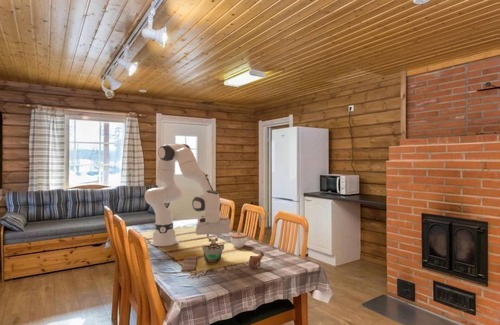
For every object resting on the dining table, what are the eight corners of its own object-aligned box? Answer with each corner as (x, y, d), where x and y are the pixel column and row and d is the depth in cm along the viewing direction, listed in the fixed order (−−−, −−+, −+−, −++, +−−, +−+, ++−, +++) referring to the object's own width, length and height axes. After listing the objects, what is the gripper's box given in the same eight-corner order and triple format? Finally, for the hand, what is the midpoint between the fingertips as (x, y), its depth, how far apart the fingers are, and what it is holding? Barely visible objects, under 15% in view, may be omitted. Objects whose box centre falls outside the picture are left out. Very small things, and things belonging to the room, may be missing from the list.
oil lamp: (262, 265, 168) (262, 250, 168) (265, 267, 165) (265, 252, 165) (247, 267, 165) (247, 252, 165) (250, 270, 161) (250, 255, 161)
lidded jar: (227, 247, 203) (227, 233, 202) (235, 243, 212) (235, 229, 212) (241, 249, 198) (241, 234, 197) (249, 245, 207) (249, 231, 207)
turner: (209, 242, 188) (209, 237, 189) (216, 242, 189) (216, 237, 189) (210, 247, 173) (209, 241, 173) (218, 246, 173) (217, 241, 174)
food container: (202, 266, 168) (203, 251, 165) (201, 259, 174) (202, 244, 170) (225, 264, 172) (226, 249, 168) (223, 257, 177) (224, 242, 173)
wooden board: (184, 258, 181) (184, 257, 181) (196, 258, 182) (196, 256, 182) (181, 271, 161) (181, 269, 161) (195, 270, 162) (195, 268, 162)
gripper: (230, 216, 187) (230, 239, 187) (195, 217, 185) (196, 240, 185) (230, 218, 181) (231, 241, 181) (195, 219, 178) (195, 243, 179)
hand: (213, 241), depth 183 cm, fingers closed on turner, 2 cm apart
